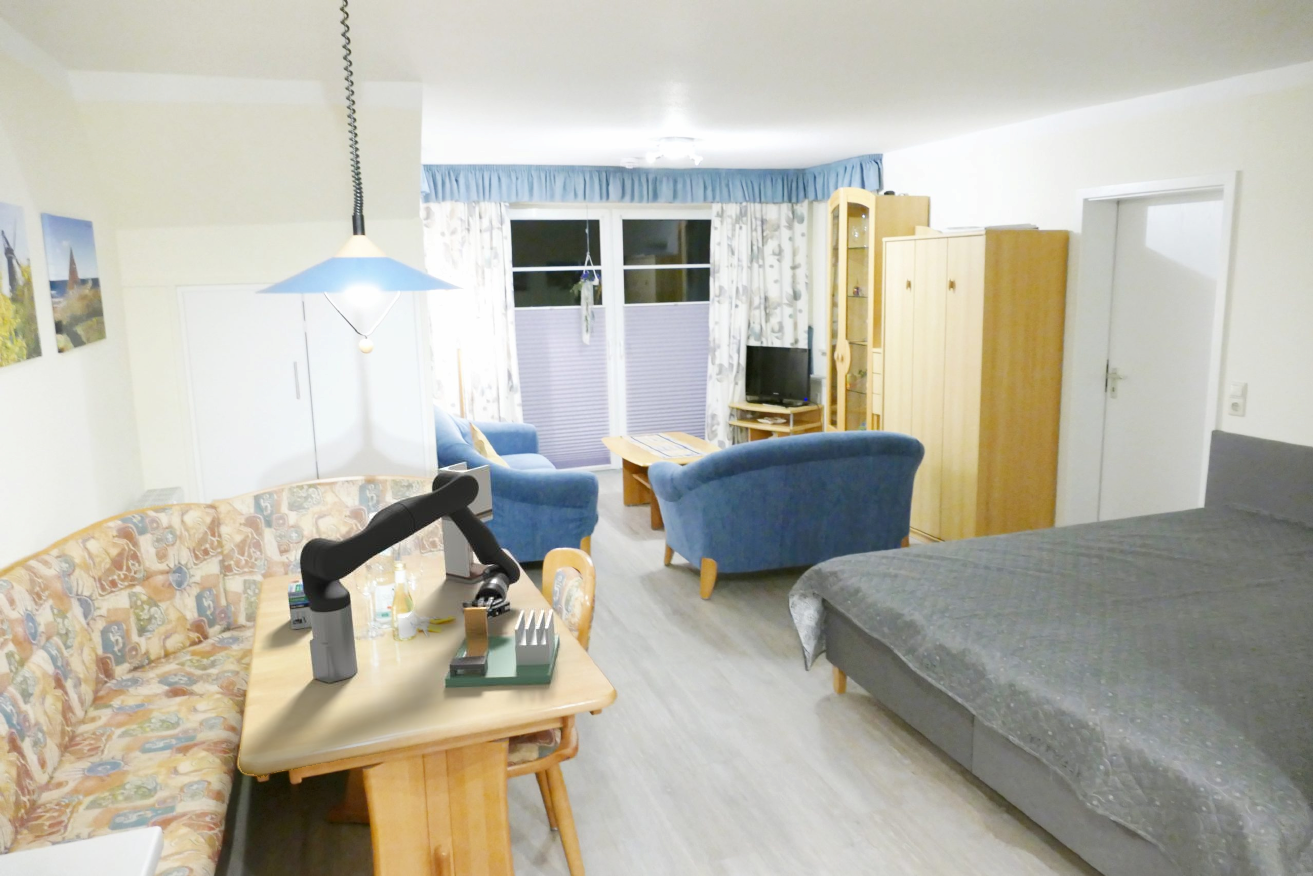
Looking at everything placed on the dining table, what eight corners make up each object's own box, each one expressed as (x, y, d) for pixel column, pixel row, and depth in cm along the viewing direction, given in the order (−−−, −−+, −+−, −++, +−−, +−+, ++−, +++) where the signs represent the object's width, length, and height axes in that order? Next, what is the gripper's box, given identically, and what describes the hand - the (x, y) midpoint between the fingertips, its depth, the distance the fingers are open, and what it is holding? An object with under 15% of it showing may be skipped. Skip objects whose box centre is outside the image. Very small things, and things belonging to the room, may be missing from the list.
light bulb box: (317, 626, 248) (313, 589, 247) (291, 630, 246) (286, 592, 244) (318, 613, 258) (314, 577, 256) (292, 617, 256) (288, 580, 254)
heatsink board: (465, 644, 233) (462, 603, 231) (559, 641, 233) (557, 600, 231) (445, 687, 210) (442, 642, 208) (550, 683, 210) (547, 638, 208)
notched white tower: (470, 584, 278) (462, 472, 272) (446, 578, 284) (437, 469, 278) (496, 573, 288) (489, 465, 281) (472, 568, 293) (464, 462, 287)
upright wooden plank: (467, 650, 224) (464, 607, 222) (489, 649, 224) (486, 607, 222) (463, 660, 218) (459, 617, 216) (484, 659, 218) (481, 616, 216)
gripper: (466, 583, 244) (452, 606, 227) (515, 581, 244) (505, 604, 227) (468, 609, 245) (455, 635, 228) (517, 607, 246) (507, 633, 228)
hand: (480, 620), depth 228 cm, fingers closed
